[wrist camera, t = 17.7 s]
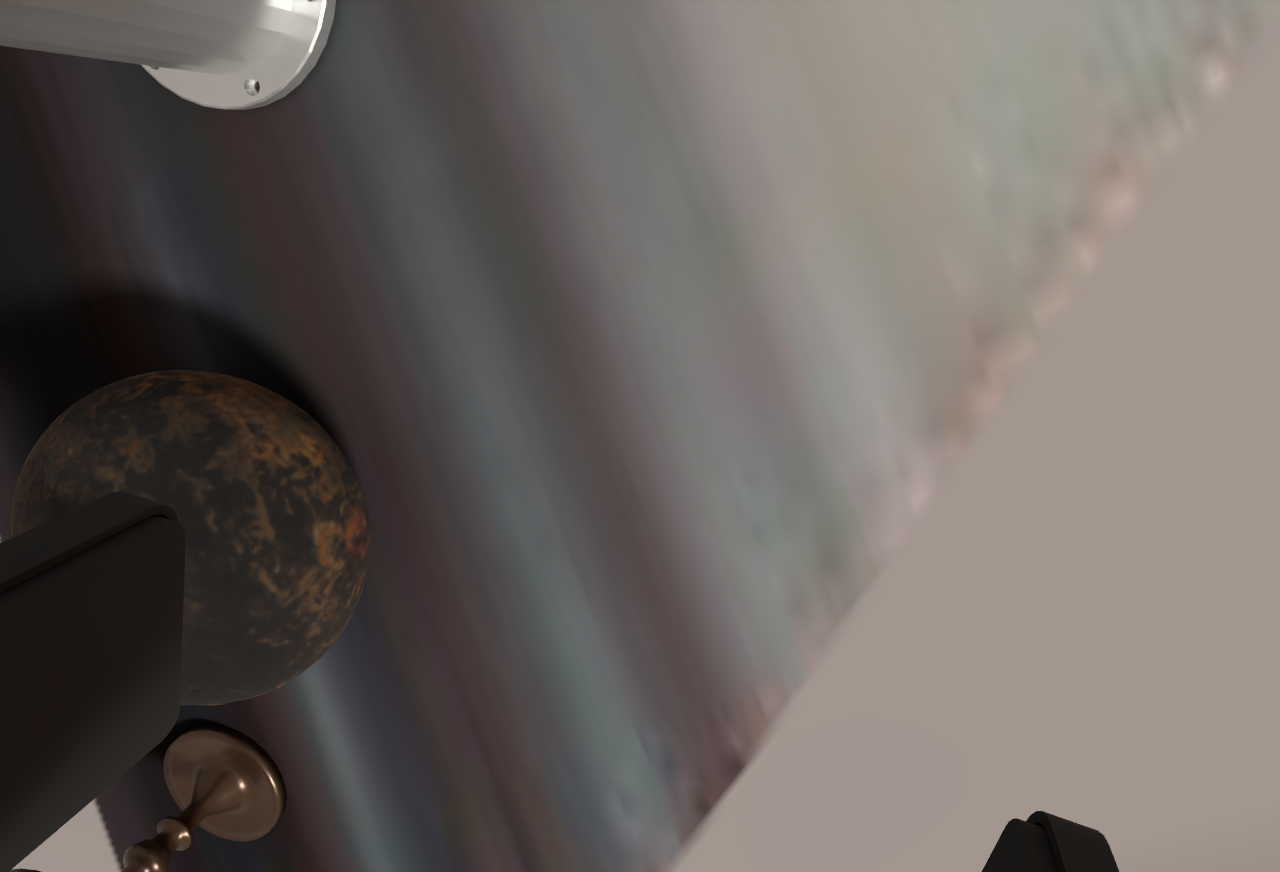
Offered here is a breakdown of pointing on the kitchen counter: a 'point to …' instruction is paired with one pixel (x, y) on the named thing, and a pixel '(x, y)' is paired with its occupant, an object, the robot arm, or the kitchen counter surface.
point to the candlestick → (212, 794)
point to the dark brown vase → (220, 516)
